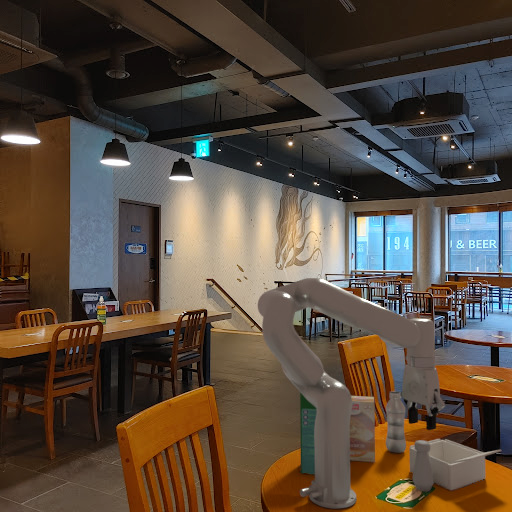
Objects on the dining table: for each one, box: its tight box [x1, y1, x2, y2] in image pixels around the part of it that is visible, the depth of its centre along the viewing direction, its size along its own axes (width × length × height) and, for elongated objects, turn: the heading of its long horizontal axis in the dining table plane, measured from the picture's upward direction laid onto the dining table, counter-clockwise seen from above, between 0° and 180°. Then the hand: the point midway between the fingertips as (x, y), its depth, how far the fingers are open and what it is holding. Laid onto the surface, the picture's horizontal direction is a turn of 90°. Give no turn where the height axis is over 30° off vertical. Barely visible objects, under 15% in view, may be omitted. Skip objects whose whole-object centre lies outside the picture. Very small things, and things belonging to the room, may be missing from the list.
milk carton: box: [299, 391, 317, 475], centre depth 148 cm, size 9×9×25 cm
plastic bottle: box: [385, 390, 407, 454], centre depth 162 cm, size 6×7×20 cm
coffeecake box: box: [350, 395, 376, 463], centre depth 157 cm, size 15×7×20 cm, turn 77°
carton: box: [409, 438, 486, 492], centre depth 142 cm, size 16×16×7 cm
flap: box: [453, 449, 502, 463], centre depth 133 cm, size 13×6×1 cm, turn 119°
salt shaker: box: [412, 439, 435, 492], centre depth 134 cm, size 6×6×13 cm
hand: (422, 425), depth 134 cm, fingers open, 5 cm apart
